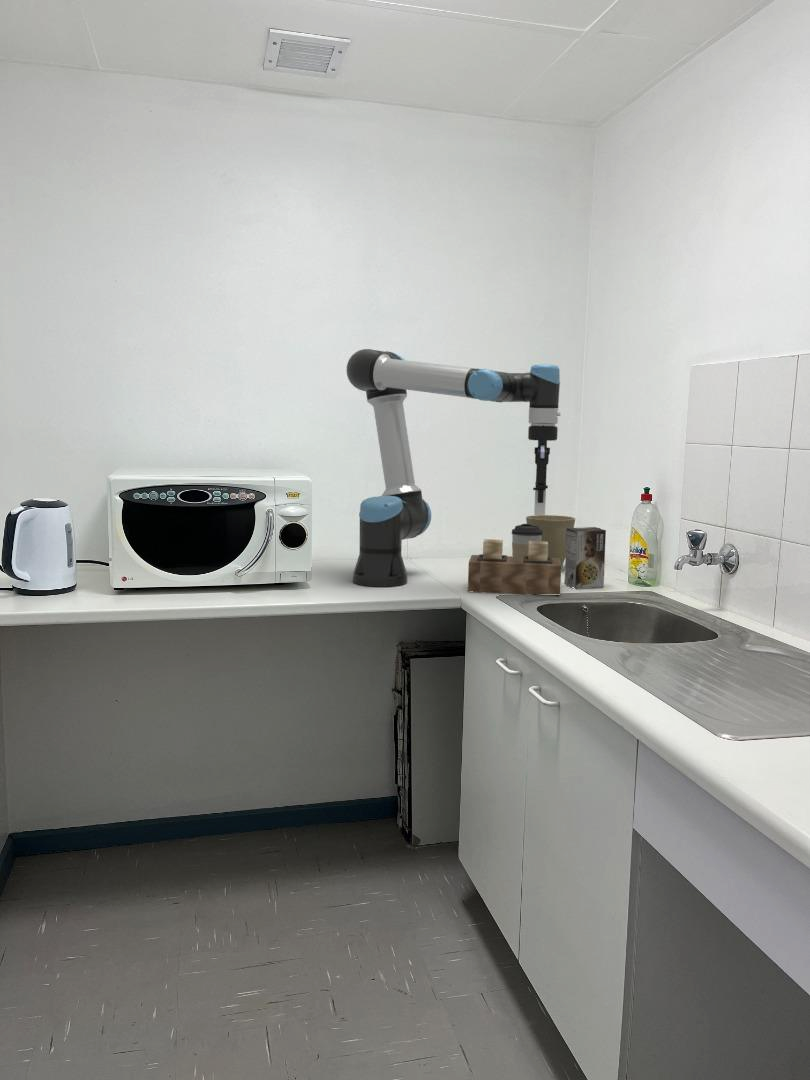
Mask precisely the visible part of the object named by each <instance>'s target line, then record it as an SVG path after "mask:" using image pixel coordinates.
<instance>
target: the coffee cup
mask: <svg viewBox="0 0 810 1080" xmlns="http://www.w3.org/2000/svg"><path fill="white" fill-rule="evenodd" d="M542 532H543V531H542V530H540V528H539V527H538V526H532V525H530V524H527V523H522V524H519V525H515V526H514V528H513V529H511V537H512V541H511V548H512V549H511V550H512V551H511V552H512V555H511V556H513V557H523V556H528V551H529V541H541V539H542V535H543V534H542Z"/></svg>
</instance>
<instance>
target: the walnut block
mask: <svg viewBox="0 0 810 1080" xmlns="http://www.w3.org/2000/svg"><path fill="white" fill-rule="evenodd" d="M467 570H468V573H467V574H468V575H467V578H468V580H467V592H468V591H473V592H472V593H482V592H485V593H486V594H504V593H505V594H504V595H506V594H507V595H508V594H509V595H511V594H512V595H525V594H560V595H561V582H562V581H561V580H562V579H561V578H562V567H561V562H560V558H552V557H548V559H547V561H529V560H528V556H523V557H513V556H512V555H510V556H509V555H506V554H502V559H483V553H482V554H480V553H479V554H471V555H470V558H469V561H468V569H467Z"/></svg>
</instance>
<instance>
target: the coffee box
mask: <svg viewBox="0 0 810 1080" xmlns="http://www.w3.org/2000/svg"><path fill="white" fill-rule="evenodd" d="M606 532H607V529H604V528H600V527H596V526H592V527H591V526H590V527H589V526H585V527H574V528H567V533H566V558H565V560H564V563H565V564H564V583H563V584H565V585H564V586H566V585H568V586H567V587H569V586H571V587H574V588H583V589H593V588H592V587H598V588H604V586H605V583H604V582H605V564H606V563H605V562H606V561H605V560H606V559H605V558H606V534H607V533H606ZM571 587H570V588H571ZM574 588H573V589H574Z"/></svg>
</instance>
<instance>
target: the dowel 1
mask: <svg viewBox="0 0 810 1080" xmlns="http://www.w3.org/2000/svg"><path fill="white" fill-rule="evenodd" d="M503 542H504V540H503V539H491V538H490V539H487V538H486V539H485V538H484V539H483V543H482V554H483V559H502V555H503V546H504V545H503V544H504V543H503Z"/></svg>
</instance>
